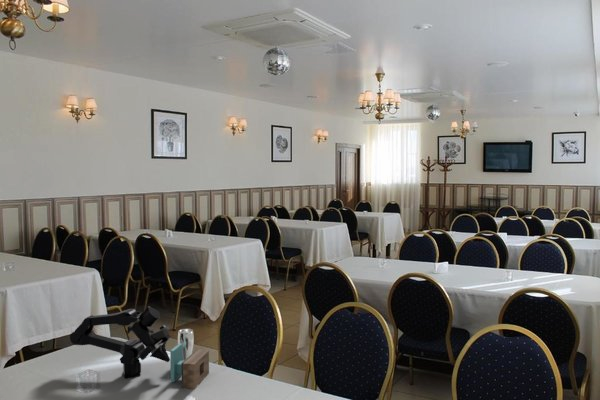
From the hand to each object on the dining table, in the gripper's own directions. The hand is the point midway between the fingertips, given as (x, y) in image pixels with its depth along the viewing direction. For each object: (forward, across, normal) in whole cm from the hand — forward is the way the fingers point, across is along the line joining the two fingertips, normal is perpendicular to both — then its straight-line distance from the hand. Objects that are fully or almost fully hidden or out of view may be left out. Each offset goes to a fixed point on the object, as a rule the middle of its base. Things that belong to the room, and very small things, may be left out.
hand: (169, 361), depth 217 cm
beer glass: (+6, +16, +5) cm, 18 cm away
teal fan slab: (+9, 0, 0) cm, 9 cm away
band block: (+13, 0, -3) cm, 14 cm away
